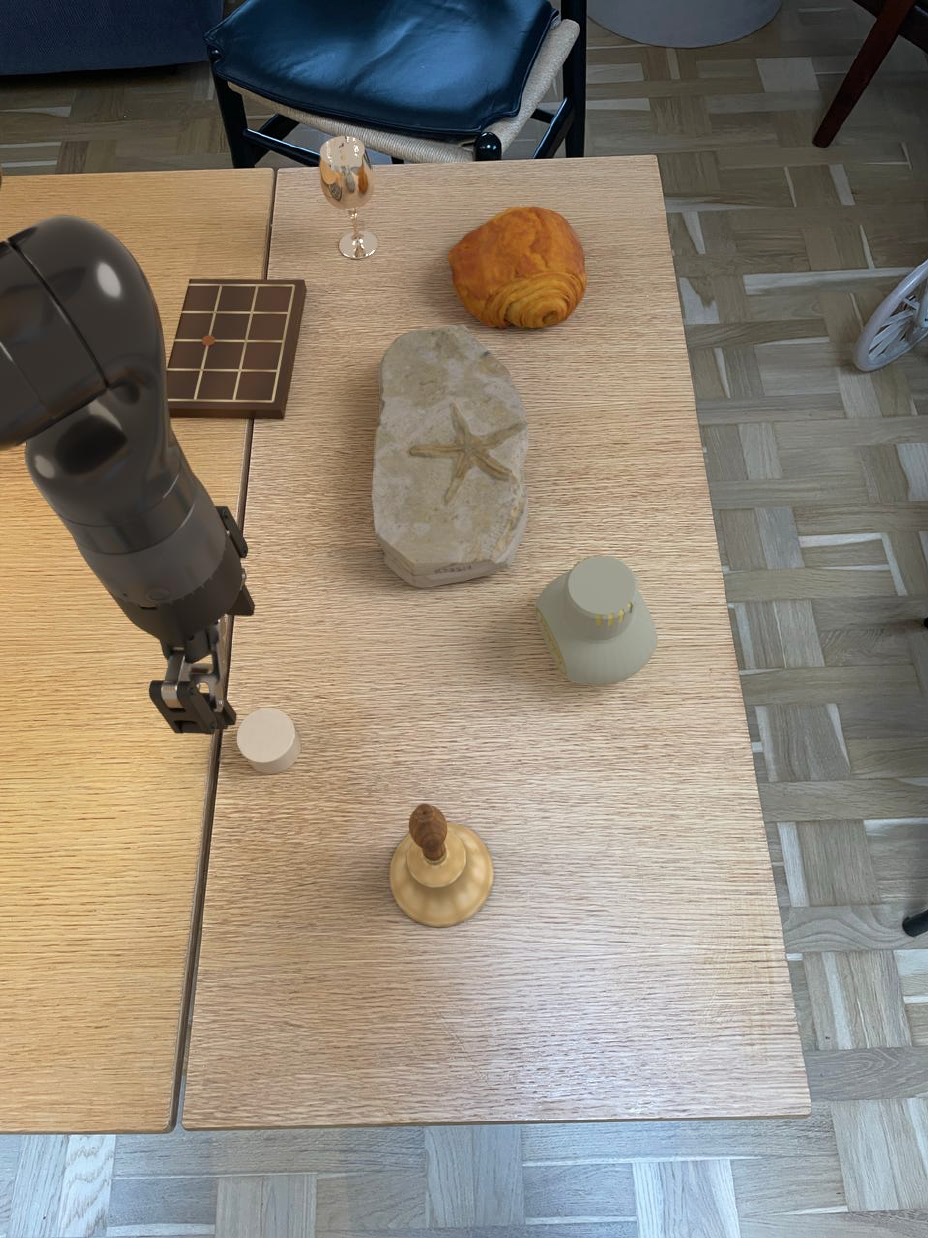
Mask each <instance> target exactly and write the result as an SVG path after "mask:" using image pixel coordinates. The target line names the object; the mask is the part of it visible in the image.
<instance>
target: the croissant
mask: <svg viewBox="0 0 928 1238" xmlns="http://www.w3.org/2000/svg"><path fill="white" fill-rule="evenodd" d="M585 258H586V257H585V252H584V249H583V246H582V242H581V240H580V237H579V235H578V233H577V232H576V231H575V229H574V227H573V226H572V225H571V223H570V222H569V221H568V219H566V218H565V217H564V216H563V215H562V214H561V213H559V212H556V211H554V210H552V209H549V208H544V207H540V206H534V205H532V206H523V207H522V206H511V207H508V208H506V209H504V210H503V211H500V212H498V213H497V214H495V215H493V217H491V218H489V219H488V220H487V221H486V222H485V223H483V224H481V225H480V226H478V227H477V228H476V229H473V230H471V231H469V232H466V234H465V235H463V237H462V238H461V239H460V241H458V242H457V243H456V244H455V245H454V246H453V247H452V248H451V249H450V250H449V252H448V253H447V256H446V261H447V262H448V263H449V265H450V272H451V273H452V275H451V277H452V279H451V280H452V285H453V288H454V291H455V294H456V295H457V297H458V299H459V300H460V302H461V303H462V305H463V307H464V309H465V310H466V311H467V312H468V314H470V315H471V316H473V317H474V318H476V319H477V320H478V321H479V322H481V323H482V324H483V325H486V326H487V327H489V328H496V327H498V328H499V329H500V330H503V329H505V328H509V326H510V325H512V324H513V325H514V326H516V327H518V328H521V329H523V328H530V329H535V328H546V327H548V326H553V325H557V324H559V323H563V322H565V321H567V320H568V318H570V317H571V315H572V314H573V313H574V312H575V310H576V309H577V307H578V306H579V305H580V303H581V302H582V299H584V296H585V293H586V289H587V284H588V273H587V271H586V265H585V262H586V260H585Z"/></svg>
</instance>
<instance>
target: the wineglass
mask: <svg viewBox="0 0 928 1238" xmlns="http://www.w3.org/2000/svg"><path fill="white" fill-rule="evenodd" d="M318 179H319V186H320V190H321V192H322V193H323V196H324V198H325V200H326V201H327V202H328V203H329V204H330V205H331V206H333V207H334V208H336V209H338V210H342V211H347V214H348V216H349V217H350V220H351V223H352V227H353V231H349V232H348V233H346V234H344V235H343V236H342V237H341V239H340V240H339V242H338V249H339V252H340V253H341V254H342V255H343V256H344V257H346V258H348V259H349V258H350V259H353V260H360V259H365V258H368V257H369V256H372V255H373V254H374V253H375V252H376V251H377V249H378V248H379V240H378V237H377V236H376V234H374V233H372V232H371V231H368V230H362V229H359V227H358V209H360V208H362V207H364V206H365V205H366V204H368V202H369V201H370V200H371V198H372V197H373V195H374V192H375V188H376V181H375V180H376V178H375V172H374V168H373V164H372V161H371V159H370V155H369V153H368V151H367V149H366V146H365V144H364V143H363V141H362V140H360V139H359V138H357V137H354V136H350V135H340V136H335V137H332V138H330V139H327V141H325V142H324V143H323V144H322V145H321V147H320V149H319V156H318Z"/></svg>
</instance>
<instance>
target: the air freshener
mask: <svg viewBox="0 0 928 1238" xmlns="http://www.w3.org/2000/svg"><path fill="white" fill-rule="evenodd" d="M646 603H647V602H646V601H645V599H644V597H643V596H642V594H641V592H640V591H639V582H638V579H637V576H636V574H635V572H634V571H633V570H632V568H630V566H629V565H628V564H626V563H625V562H624V561H622V560H620V559H619V558H616V557H613V556H610V555H601V554H599V555H598V554H597V555H593V556H588V557H585V558H583V559H582V560H580V561H577V562H576V563H574V564H573V567H571V568H570V569H569V570H568V571H566V572H564V573H562V574H560V575H558V576H556V578H554V579H553V580H552V581H550V582H549V583H548V584H547V585H546V586H545V588H543V590H541V592H540V594H539V596H538V597H537V599H536V601H535V603H534V606H533V610H534V611H533V612H534V615H535V619H536V622H537V625H538V628H539V631H540V634H541V636H542V638H543V641H544V643H545V646H546V648H547V650H548V653H549V654H550V656H551V658H552V660H553V663H554V664H555V666H556V668H557V670H558V671H559V673H560V674H561V675H562V677H563V678H565V680H568V681H570V682H573V683H575V684H579V685H583V686H593V687H603V686H609V685H615V684H618V683H621V682H623V681H626V680H628V679H630V678H632V677H633V676H634V675H636V674H637V673H638V672H640V671H641V670H642V669H643V668H644V667H645V666H646V665H647V664H648V662H649V661H650V660H651V658H652V657H653V655H654V654H655V651H656V649H657V647H658V644H659V637H658V633H657V628H656V626H655V623H654V619H653V617H652V615H651V612H650V610H649V608H648V606H647V604H646Z"/></svg>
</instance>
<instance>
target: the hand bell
mask: <svg viewBox="0 0 928 1238" xmlns="http://www.w3.org/2000/svg"><path fill="white" fill-rule="evenodd" d="M446 819H447V818H446V817H445V815H444V813H443V812H442V810H441V809H439V808H438V807H436V806H434V805H431V804H430V803H426V802H425V803H421V804H418V805H417V807H415V809H414V810H413V811H412V813H411V814H410V816H409V819H408V831H409V833H408V834H407V835H406V836H405V837H404V838H403V839H402V840H401V842H400V843H399V844H398V846H397V847H396V849H395V851H394V853H393V855H392V857H391V860H390V865H389V870H388V871H389V872H388V875H389V876H388V879H389V886H390V891H391V894H392V897H393V899H394V900H395V902H396V904H397V905H398V907H399V908H400V910H401V911H403V912H404V914H405V915H406V916H408V917H409V918H410V919H412V920H413V921H415V922H417V923H419V924H422V925H424V926H426V927H427V926H428V927H433V928H448V927H453V926H457V925H459V924H461V923H464V922H466V921H467V920H469V919H471V918H472V917H474V916H475V915H476V914H477V913H478V912H479V911H480V910H481V909H482V908H483V907H484V905H485V904H486V902H487V900H488V899H489V896H490V894H491V892H492V889H493V885H494V877H495V868H494V862H493V857H492V855H491V853H490V850H489V848H488V846H487V845H486V843H485V842H484V841H483V839H482V838H481V836H479V835H478V834H477V833H476V832H474V831H473V830H472V829H470V828H468V827H466V826H464V825H463V824H459V823H456V822H453V821H447V820H446Z"/></svg>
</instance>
